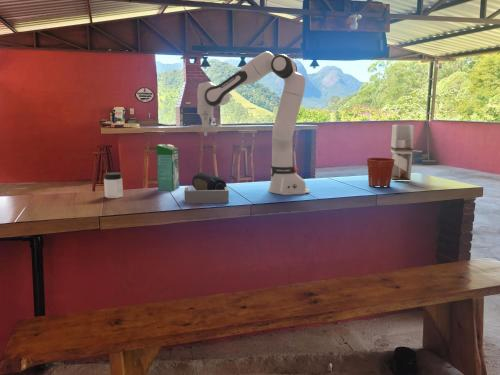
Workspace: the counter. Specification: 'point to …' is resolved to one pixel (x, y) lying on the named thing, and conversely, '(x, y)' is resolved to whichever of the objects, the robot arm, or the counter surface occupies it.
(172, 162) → the milk carton
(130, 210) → the counter surface
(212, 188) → the portable speaker
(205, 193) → the tray
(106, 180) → the jar
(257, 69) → the robot arm
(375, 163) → the flower pot
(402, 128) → the white two-tier box
